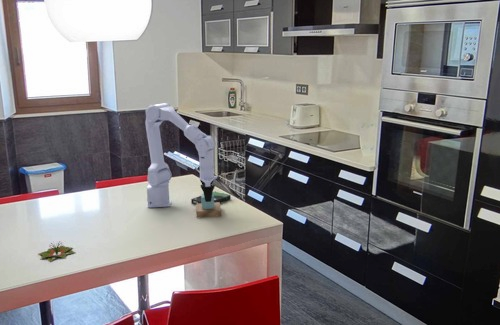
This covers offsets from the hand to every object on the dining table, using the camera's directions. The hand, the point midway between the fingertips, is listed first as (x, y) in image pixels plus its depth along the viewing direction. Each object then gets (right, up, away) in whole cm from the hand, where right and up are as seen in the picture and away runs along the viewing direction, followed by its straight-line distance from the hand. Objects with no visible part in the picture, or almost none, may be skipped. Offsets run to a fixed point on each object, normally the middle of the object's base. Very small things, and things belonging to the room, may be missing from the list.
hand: (207, 198), depth 188 cm
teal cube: (0, -3, +1) cm, 4 cm away
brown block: (0, -6, +2) cm, 7 cm away
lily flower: (-47, -16, -35) cm, 61 cm away
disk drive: (0, -3, +15) cm, 16 cm away
